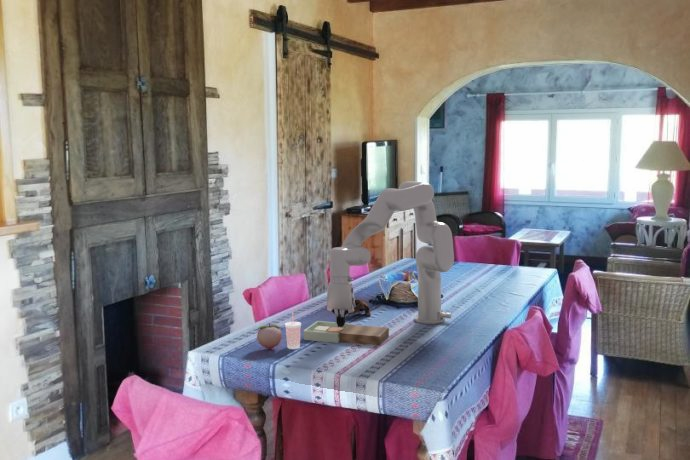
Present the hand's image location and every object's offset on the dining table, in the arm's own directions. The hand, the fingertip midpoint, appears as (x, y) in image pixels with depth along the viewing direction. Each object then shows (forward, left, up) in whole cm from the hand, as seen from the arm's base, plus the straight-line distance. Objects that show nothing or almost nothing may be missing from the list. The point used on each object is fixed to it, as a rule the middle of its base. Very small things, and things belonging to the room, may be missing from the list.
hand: (340, 326), depth 262 cm
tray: (+5, 0, -4) cm, 7 cm away
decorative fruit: (+19, +22, -5) cm, 30 cm away
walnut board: (-10, 0, -4) cm, 10 cm away
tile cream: (+8, 0, -1) cm, 8 cm away
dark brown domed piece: (+3, -33, -5) cm, 33 cm away
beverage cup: (+12, +17, -5) cm, 22 cm away
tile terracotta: (+2, 0, -4) cm, 4 cm away
